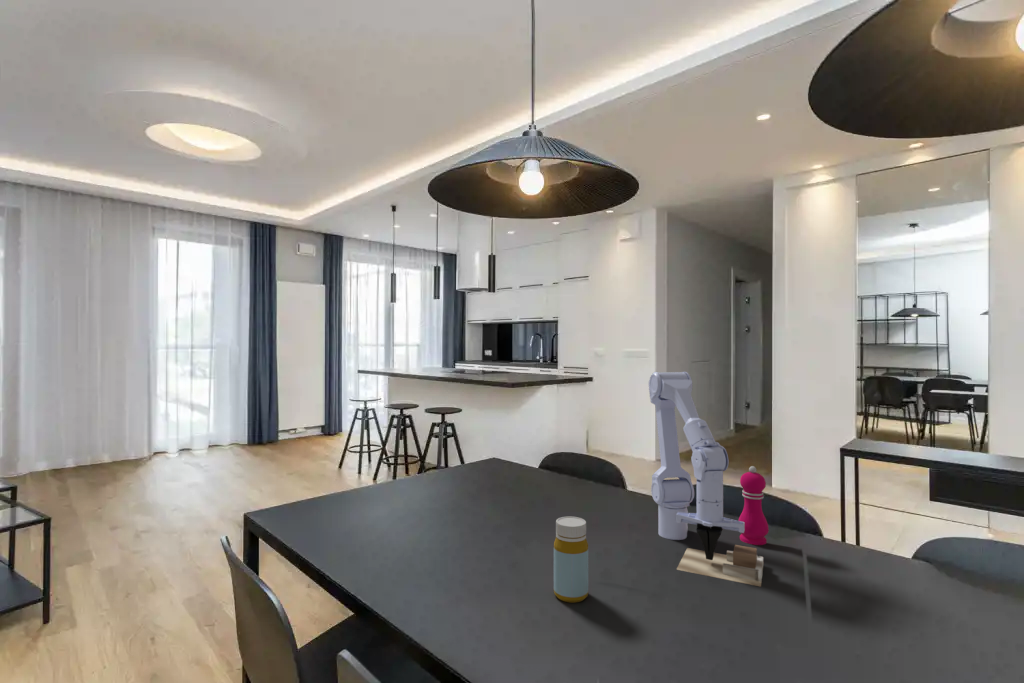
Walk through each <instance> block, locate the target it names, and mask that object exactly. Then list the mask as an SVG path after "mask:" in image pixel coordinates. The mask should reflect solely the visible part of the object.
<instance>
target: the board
mask: <svg viewBox="0 0 1024 683" xmlns="http://www.w3.org/2000/svg"><path fill="white" fill-rule="evenodd" d="M764 564H765V563H764V556H761V555H757V562H756V569H753V568H747V567H742V566H737V565H733V550H726V554H723V553H717V552H714V557H713V560H708V559H706V555H705V550H702V549H701V550H700V549H696V548H691V547H690V548H689V547H687V548H686V550H685V551H684V554H683V555H682V558H681V559H680V561H679V563H678V566H677V567H676V570H677V571H681V572H687V573H692V574H696V575H702V576H705V577H711V578H717V579H719V580H720V579H721V580H725V581H730V582H735V583H740V584H745V585H751V586H756V587H760V588H761V587H762V583H763V582H762V581H763V580H762V579H763V571H764Z"/></svg>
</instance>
